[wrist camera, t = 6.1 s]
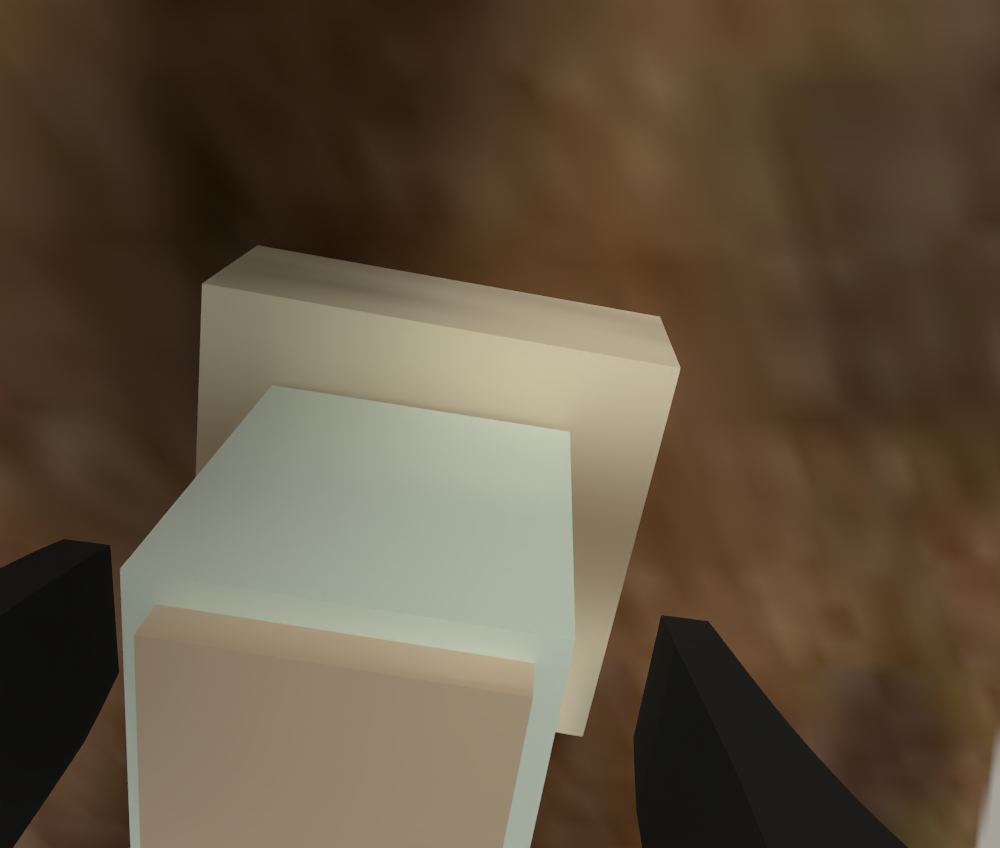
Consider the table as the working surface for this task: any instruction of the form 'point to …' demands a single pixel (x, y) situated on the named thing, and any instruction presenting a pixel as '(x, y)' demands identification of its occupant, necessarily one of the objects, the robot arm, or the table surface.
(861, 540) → the table surface
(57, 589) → the robot arm
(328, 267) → the base block
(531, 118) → the table surface
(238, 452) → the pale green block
